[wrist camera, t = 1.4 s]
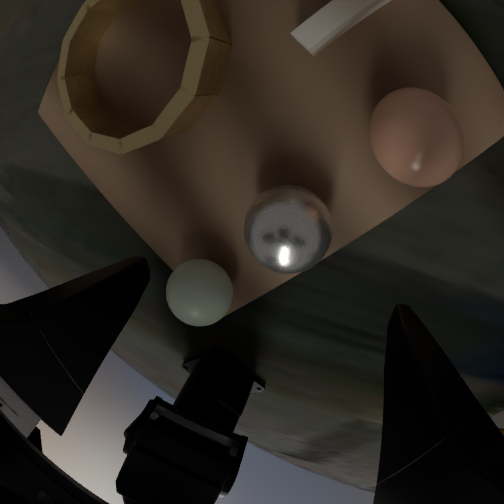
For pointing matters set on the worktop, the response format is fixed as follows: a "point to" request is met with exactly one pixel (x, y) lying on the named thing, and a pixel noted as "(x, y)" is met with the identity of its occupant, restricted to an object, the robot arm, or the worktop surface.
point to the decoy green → (199, 292)
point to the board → (272, 119)
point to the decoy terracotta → (416, 137)
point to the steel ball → (288, 229)
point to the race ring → (180, 106)
